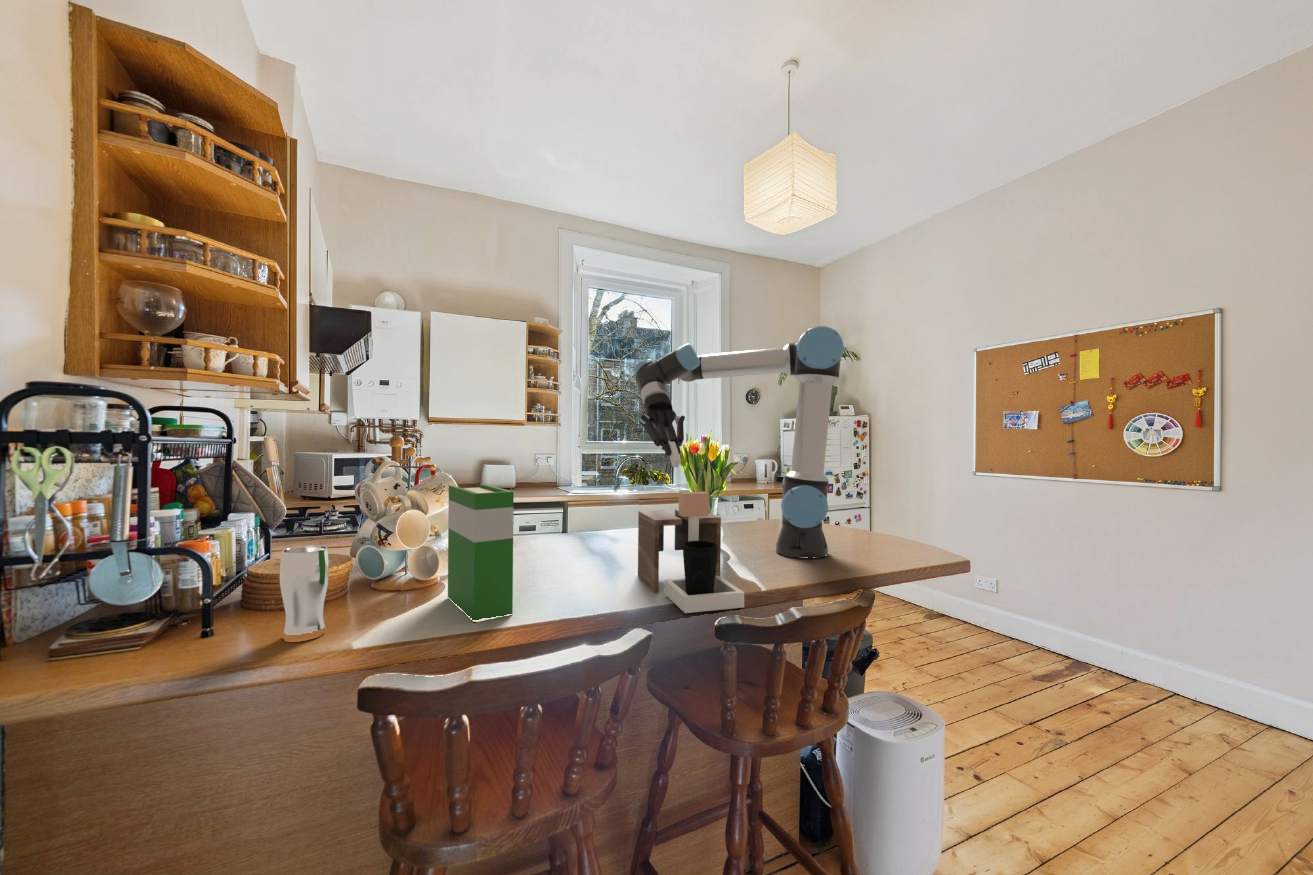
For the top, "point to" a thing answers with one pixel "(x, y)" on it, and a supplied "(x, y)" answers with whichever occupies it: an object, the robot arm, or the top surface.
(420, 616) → the top surface
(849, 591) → the top surface
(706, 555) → the cup
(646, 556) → the tunnel
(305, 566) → the beer glass
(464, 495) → the hardback book
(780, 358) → the robot arm
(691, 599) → the slider
